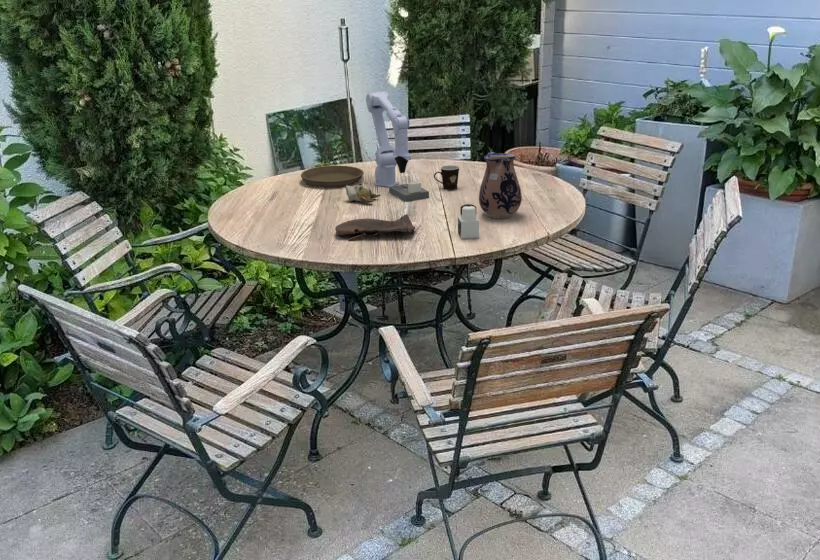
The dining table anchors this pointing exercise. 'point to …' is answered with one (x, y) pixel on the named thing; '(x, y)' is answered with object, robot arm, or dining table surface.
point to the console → (407, 193)
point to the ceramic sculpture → (360, 193)
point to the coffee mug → (449, 177)
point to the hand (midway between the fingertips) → (402, 172)
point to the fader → (414, 187)
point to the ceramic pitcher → (500, 186)
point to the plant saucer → (332, 176)
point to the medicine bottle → (468, 222)
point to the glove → (374, 227)
